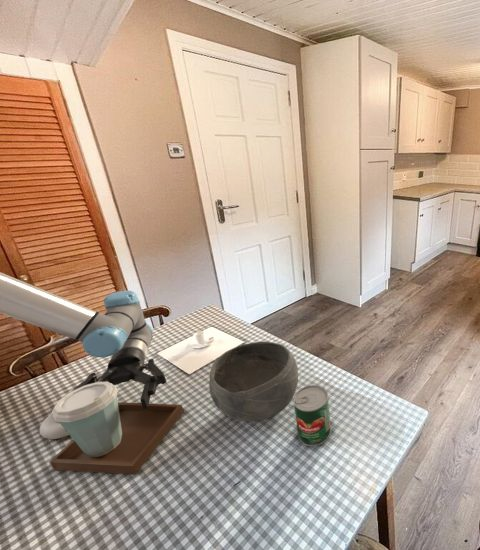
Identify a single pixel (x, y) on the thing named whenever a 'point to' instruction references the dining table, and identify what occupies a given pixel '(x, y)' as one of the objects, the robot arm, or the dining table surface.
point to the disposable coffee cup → (91, 417)
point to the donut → (52, 429)
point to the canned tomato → (312, 415)
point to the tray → (125, 441)
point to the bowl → (253, 381)
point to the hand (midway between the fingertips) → (106, 414)
